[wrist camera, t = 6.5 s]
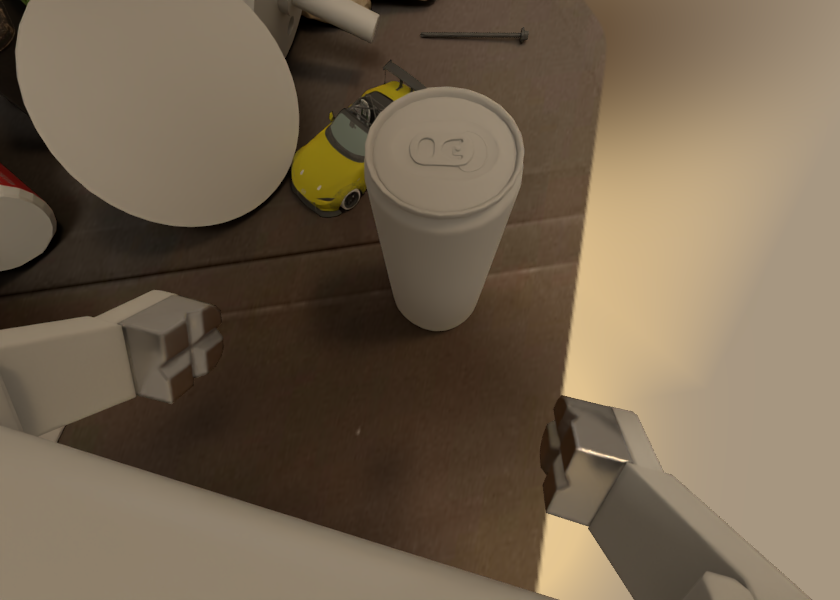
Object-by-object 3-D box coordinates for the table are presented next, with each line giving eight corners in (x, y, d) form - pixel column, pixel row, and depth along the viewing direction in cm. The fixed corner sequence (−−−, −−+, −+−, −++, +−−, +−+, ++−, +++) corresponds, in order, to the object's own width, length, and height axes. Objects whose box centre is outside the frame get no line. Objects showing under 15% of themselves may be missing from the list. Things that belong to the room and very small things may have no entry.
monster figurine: (23, -139, 13) (6, -89, 19) (10, 204, 16) (-1, 155, 22) (321, 43, 22) (246, 38, 28) (274, 239, 25) (216, 197, 31)
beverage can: (476, 336, 21) (532, 224, 10) (390, 331, 21) (349, 215, 10) (478, 258, 23) (527, 84, 12) (397, 254, 23) (368, 79, 12)
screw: (526, 46, 29) (526, 34, 29) (528, 36, 28) (529, 23, 28) (420, 45, 29) (421, 33, 30) (419, 35, 28) (420, 23, 29)
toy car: (280, 182, 25) (260, 152, 22) (389, 89, 27) (383, 50, 24) (332, 229, 24) (318, 205, 21) (442, 130, 26) (442, 94, 23)
